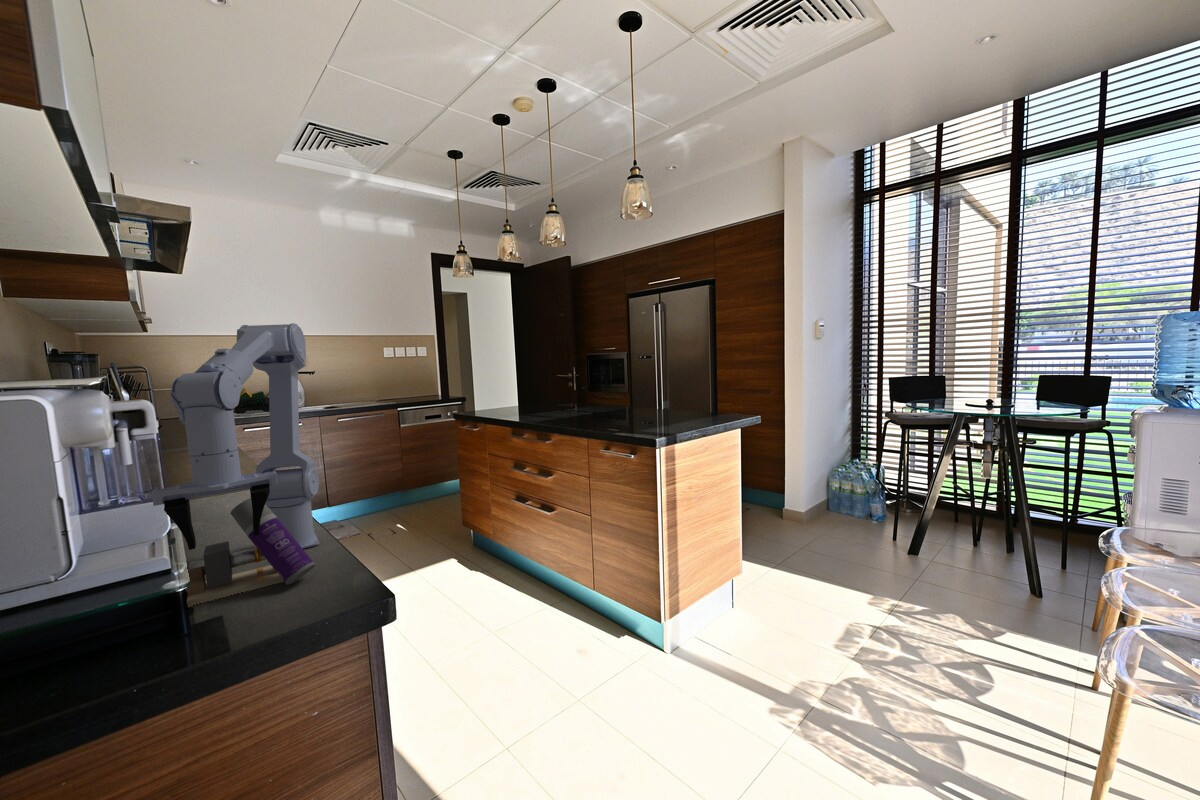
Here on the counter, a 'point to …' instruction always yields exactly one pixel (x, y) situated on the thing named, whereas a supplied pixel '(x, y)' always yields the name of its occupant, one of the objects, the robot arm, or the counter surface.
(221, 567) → the upright grey rectangular block
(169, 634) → the counter surface
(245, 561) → the dark long bar
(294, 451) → the robot arm
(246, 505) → the container
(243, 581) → the base board
